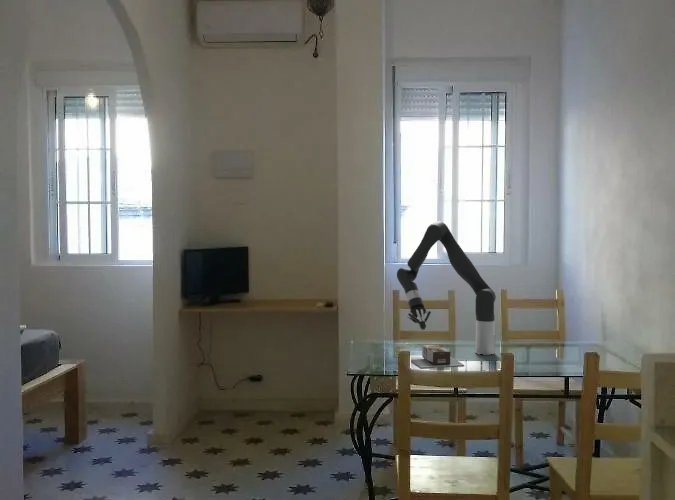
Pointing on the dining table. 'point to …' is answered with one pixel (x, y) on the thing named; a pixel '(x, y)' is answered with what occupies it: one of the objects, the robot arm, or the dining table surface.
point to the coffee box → (436, 354)
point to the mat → (425, 364)
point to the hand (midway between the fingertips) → (423, 328)
